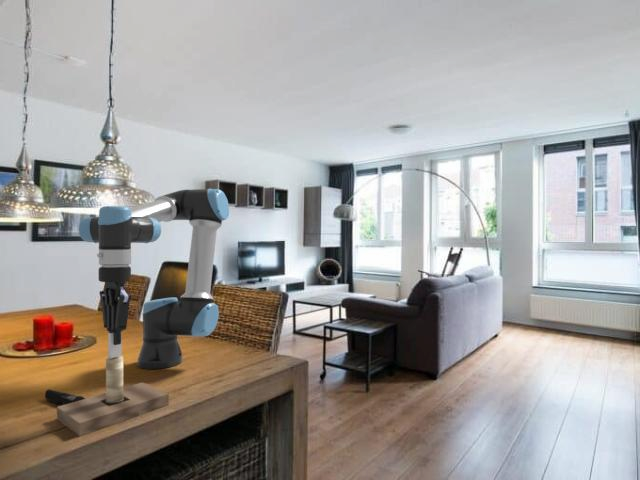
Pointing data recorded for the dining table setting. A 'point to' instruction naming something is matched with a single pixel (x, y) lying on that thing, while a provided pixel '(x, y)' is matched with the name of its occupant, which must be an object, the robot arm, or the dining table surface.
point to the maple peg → (114, 380)
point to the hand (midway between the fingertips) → (114, 356)
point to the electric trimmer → (61, 397)
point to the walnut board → (110, 408)
